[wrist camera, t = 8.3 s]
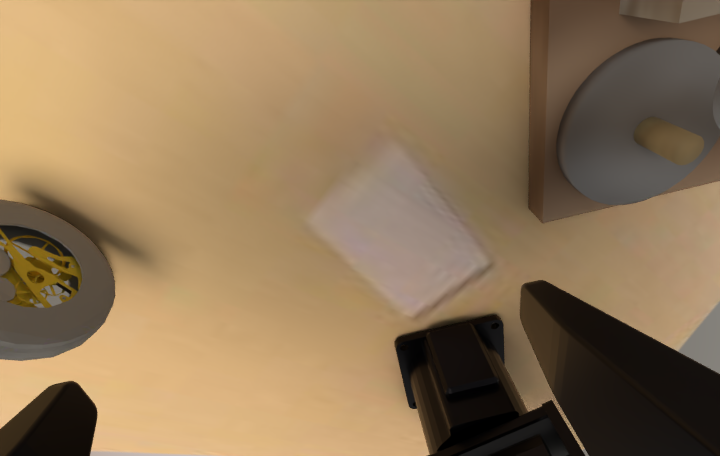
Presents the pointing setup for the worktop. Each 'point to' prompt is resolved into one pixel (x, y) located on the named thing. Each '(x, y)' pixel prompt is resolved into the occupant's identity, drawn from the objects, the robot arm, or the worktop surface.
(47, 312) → the pocket watch
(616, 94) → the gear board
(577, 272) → the worktop surface
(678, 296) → the worktop surface
